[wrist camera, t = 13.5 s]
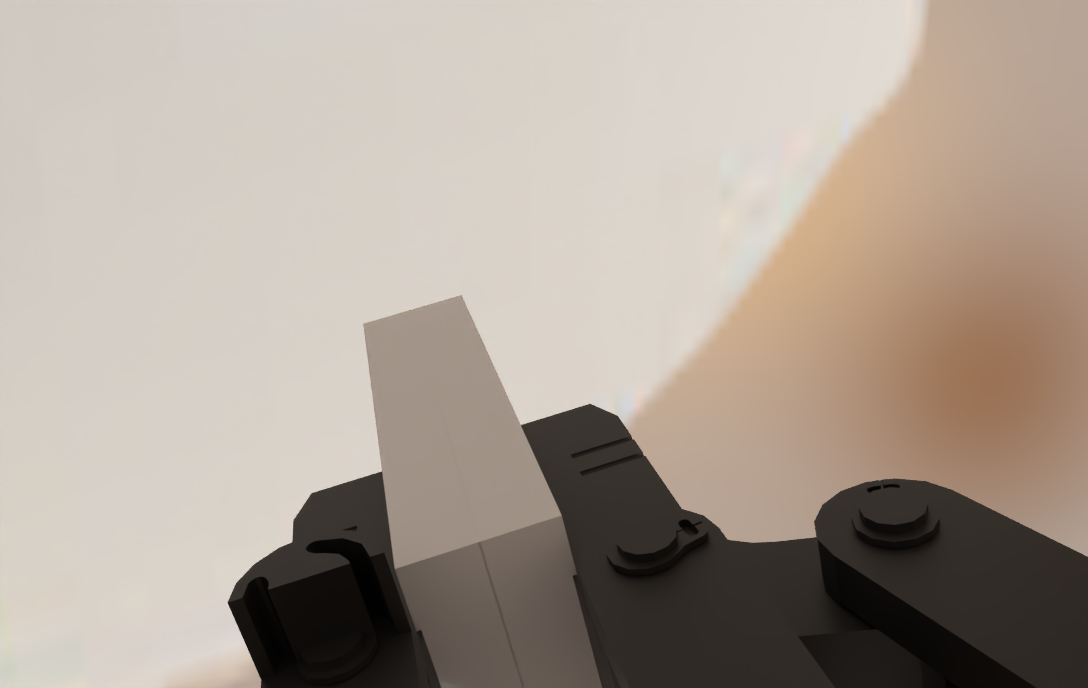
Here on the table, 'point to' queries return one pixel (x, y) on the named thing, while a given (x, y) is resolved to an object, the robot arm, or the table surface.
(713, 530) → the robot arm
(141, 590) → the table surface
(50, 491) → the table surface
